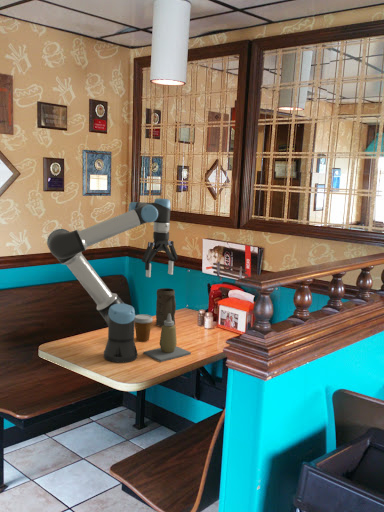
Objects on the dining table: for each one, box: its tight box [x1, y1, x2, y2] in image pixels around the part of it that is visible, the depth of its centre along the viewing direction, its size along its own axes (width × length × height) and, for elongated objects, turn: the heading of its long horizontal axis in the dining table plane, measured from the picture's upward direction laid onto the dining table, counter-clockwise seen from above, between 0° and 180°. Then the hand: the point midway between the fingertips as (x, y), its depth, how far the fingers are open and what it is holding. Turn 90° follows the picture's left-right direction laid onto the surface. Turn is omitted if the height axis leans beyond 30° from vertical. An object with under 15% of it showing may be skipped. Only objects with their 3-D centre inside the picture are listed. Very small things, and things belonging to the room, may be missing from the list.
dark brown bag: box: [155, 287, 177, 327], centre depth 291 cm, size 15×11×20 cm
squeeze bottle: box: [159, 314, 178, 353], centre depth 248 cm, size 8×8×18 cm
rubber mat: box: [142, 345, 192, 363], centre depth 248 cm, size 18×13×1 cm
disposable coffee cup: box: [134, 314, 154, 343], centre depth 266 cm, size 10×10×12 cm
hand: (159, 275), depth 255 cm, fingers open, 13 cm apart
